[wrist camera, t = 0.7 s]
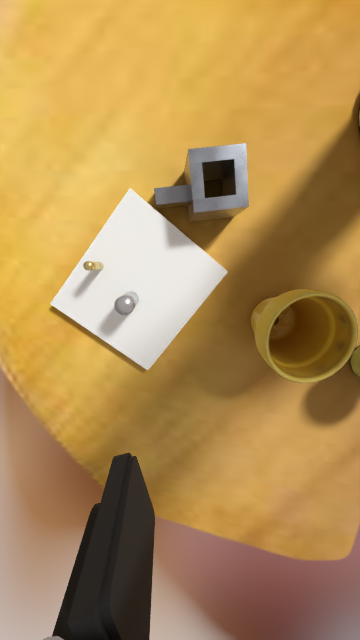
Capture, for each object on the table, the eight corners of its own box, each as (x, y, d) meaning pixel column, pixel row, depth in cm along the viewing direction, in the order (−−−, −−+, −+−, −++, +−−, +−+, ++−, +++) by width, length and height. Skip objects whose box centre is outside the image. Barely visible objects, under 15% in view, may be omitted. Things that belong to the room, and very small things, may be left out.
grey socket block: (231, 166, 29) (246, 143, 23) (233, 217, 30) (248, 206, 25) (152, 174, 28) (149, 153, 23) (158, 225, 30) (157, 216, 24)
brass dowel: (98, 260, 29) (86, 259, 25) (105, 265, 29) (94, 265, 25) (94, 266, 29) (81, 266, 25) (100, 271, 29) (89, 272, 25)
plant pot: (228, 344, 34) (252, 374, 25) (248, 276, 32) (283, 281, 22) (291, 357, 35) (337, 391, 26) (315, 293, 33) (375, 304, 24)
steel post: (128, 287, 30) (121, 292, 25) (142, 298, 31) (137, 304, 26) (119, 300, 30) (110, 307, 26) (132, 310, 31) (126, 318, 26)
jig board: (131, 191, 29) (129, 188, 27) (225, 271, 32) (228, 271, 30) (54, 302, 31) (50, 304, 30) (148, 366, 34) (147, 370, 33)
